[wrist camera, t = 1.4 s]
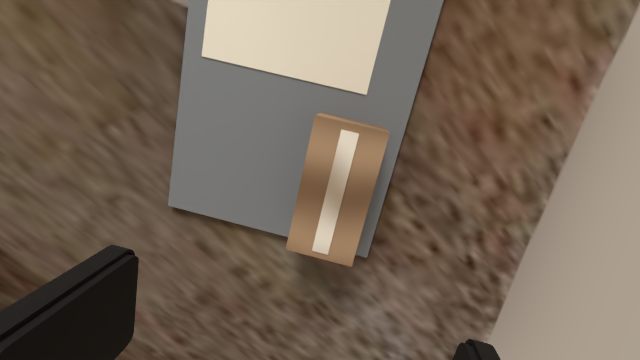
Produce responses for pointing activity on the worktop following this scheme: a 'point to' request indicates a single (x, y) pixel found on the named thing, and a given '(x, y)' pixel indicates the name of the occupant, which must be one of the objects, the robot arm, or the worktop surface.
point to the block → (336, 187)
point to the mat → (288, 97)
